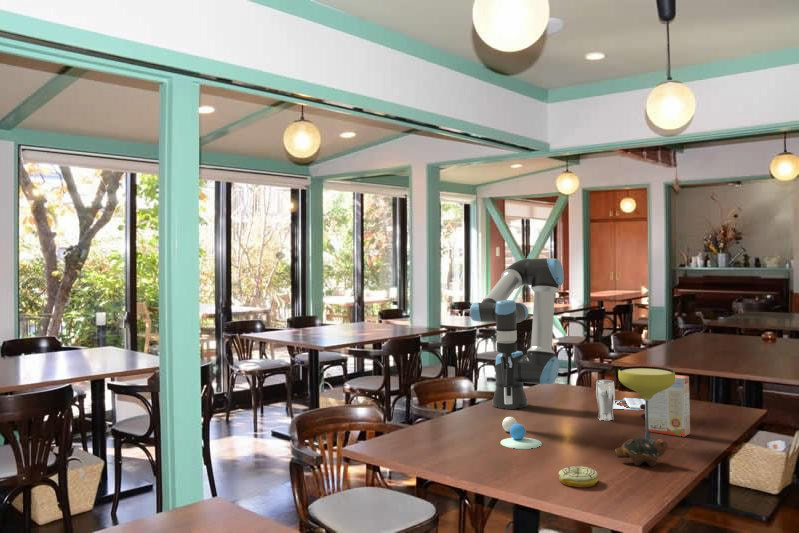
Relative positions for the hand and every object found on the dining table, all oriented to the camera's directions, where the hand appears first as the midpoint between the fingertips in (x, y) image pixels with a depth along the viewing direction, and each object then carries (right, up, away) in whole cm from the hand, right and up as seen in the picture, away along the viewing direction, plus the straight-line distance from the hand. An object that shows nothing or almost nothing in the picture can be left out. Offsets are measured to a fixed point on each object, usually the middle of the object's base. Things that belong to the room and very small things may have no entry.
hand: (508, 403), depth 246 cm
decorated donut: (+10, -10, -61) cm, 63 cm away
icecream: (+60, -8, +7) cm, 61 cm away
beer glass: (+40, -8, +9) cm, 42 cm away
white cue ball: (0, -6, -6) cm, 9 cm away
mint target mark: (+1, -9, -21) cm, 23 cm away
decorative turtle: (+33, -9, -46) cm, 57 cm away
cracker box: (+55, -8, -11) cm, 57 cm away
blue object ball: (+1, -6, -17) cm, 18 cm away
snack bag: (+57, -9, +33) cm, 66 cm away
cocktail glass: (+43, -9, -25) cm, 51 cm away
